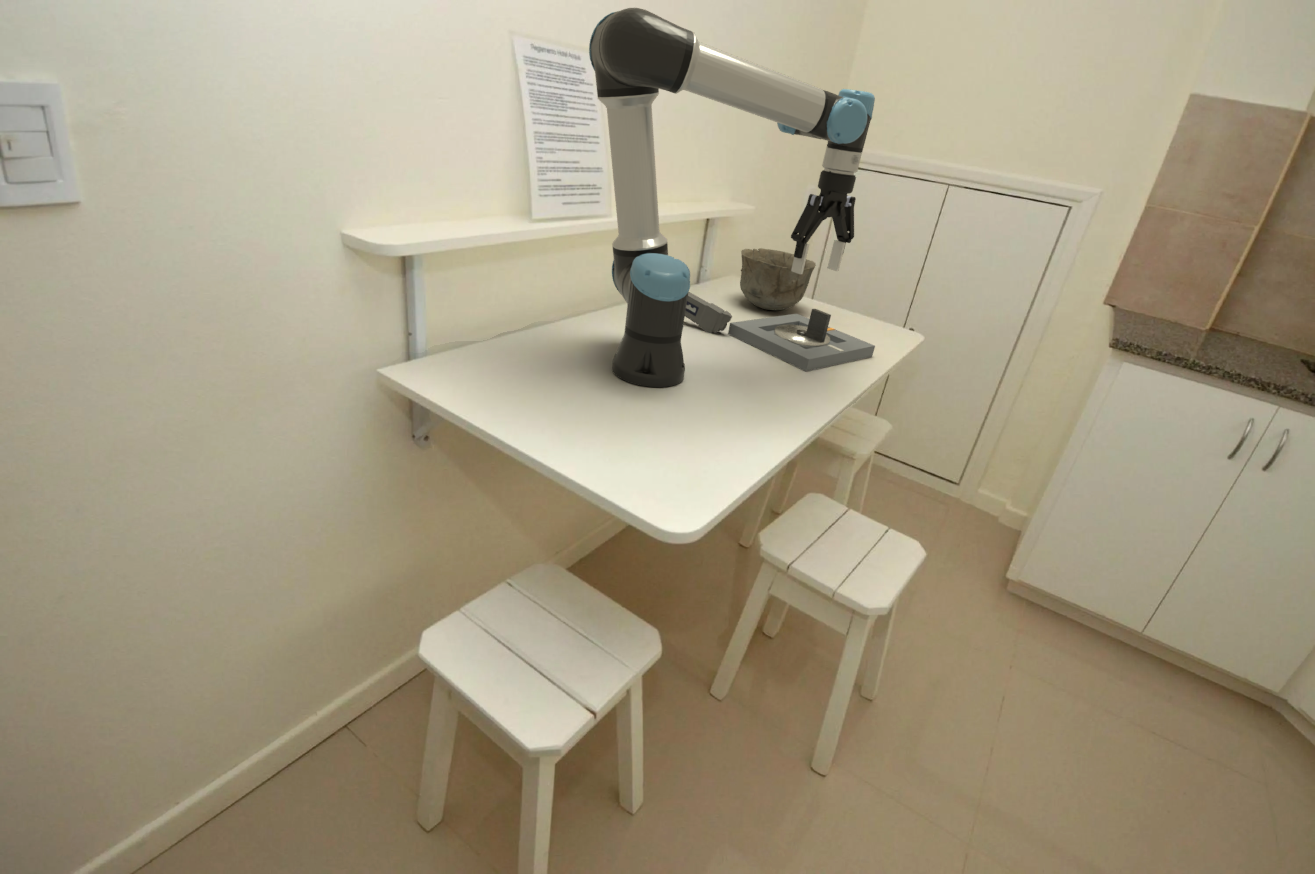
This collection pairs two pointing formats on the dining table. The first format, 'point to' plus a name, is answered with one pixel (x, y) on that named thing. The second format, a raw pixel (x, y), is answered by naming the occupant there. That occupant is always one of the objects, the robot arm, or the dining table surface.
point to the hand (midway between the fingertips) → (815, 271)
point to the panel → (806, 359)
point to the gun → (706, 314)
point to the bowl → (773, 278)
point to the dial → (807, 331)
